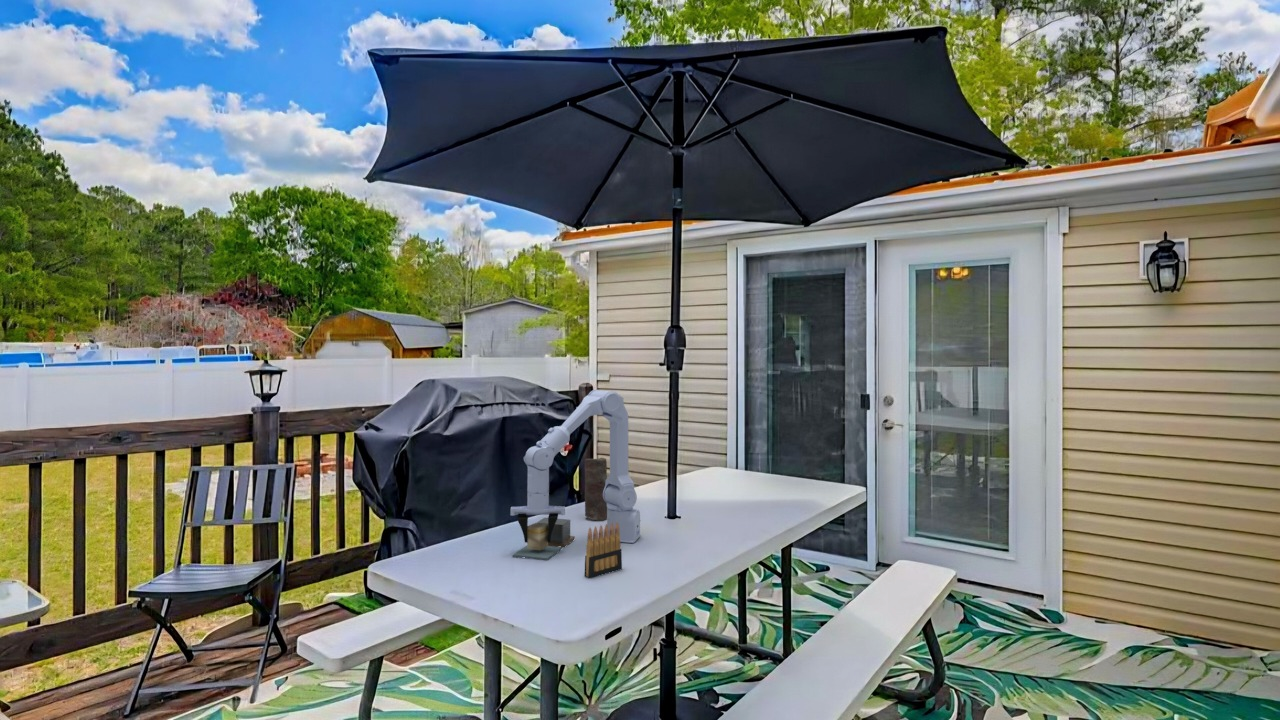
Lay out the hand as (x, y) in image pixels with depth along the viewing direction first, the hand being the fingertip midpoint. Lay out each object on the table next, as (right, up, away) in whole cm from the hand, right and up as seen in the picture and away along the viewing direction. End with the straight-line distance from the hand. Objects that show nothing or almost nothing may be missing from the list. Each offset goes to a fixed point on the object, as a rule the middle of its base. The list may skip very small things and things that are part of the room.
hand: (537, 541), depth 182 cm
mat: (0, -3, 0) cm, 3 cm away
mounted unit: (+3, -3, +11) cm, 11 cm away
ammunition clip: (+19, -4, -15) cm, 24 cm away
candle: (+13, -3, +38) cm, 40 cm away
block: (0, -2, 0) cm, 2 cm away
